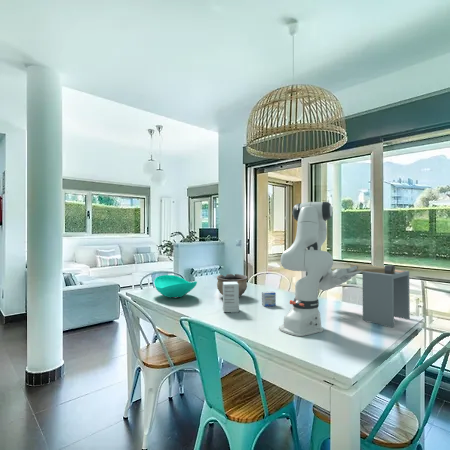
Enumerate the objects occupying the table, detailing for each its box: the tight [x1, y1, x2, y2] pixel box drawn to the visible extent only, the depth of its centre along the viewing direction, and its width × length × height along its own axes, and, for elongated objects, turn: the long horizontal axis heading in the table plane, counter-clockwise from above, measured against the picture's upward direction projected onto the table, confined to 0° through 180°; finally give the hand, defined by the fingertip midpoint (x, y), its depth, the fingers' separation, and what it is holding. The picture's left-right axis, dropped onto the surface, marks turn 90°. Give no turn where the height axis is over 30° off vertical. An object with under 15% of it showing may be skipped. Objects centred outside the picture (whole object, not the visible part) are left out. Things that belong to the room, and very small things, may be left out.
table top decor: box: [153, 274, 198, 298], centre depth 218 cm, size 40×28×13 cm
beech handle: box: [349, 263, 396, 274], centre depth 165 cm, size 5×22×4 cm, turn 39°
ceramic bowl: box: [216, 273, 248, 297], centre depth 217 cm, size 22×22×15 cm
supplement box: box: [222, 282, 240, 313], centre depth 182 cm, size 10×9×17 cm
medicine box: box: [261, 291, 277, 308], centre depth 193 cm, size 8×4×9 cm, turn 105°
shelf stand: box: [361, 269, 411, 328], centre depth 163 cm, size 22×15×26 cm
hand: (359, 266), depth 170 cm, fingers closed on beech handle, 4 cm apart
